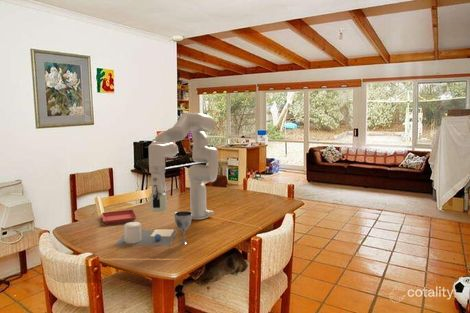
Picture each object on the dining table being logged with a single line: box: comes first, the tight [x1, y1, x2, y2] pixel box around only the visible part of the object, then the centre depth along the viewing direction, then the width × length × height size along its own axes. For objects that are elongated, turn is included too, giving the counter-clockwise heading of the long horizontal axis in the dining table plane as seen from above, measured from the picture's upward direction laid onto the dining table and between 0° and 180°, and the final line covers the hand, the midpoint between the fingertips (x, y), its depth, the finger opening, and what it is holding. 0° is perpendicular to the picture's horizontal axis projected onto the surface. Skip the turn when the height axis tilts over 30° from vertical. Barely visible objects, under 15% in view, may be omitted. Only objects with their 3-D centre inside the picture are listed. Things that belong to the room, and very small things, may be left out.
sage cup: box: [149, 191, 168, 213], centre depth 160 cm, size 8×8×8 cm
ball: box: [154, 234, 161, 241], centre depth 159 cm, size 3×3×3 cm
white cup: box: [123, 221, 142, 243], centre depth 159 cm, size 8×8×8 cm
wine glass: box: [174, 210, 193, 245], centre depth 156 cm, size 8×8×15 cm
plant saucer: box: [101, 209, 137, 225], centre depth 193 cm, size 18×18×3 cm
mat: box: [114, 228, 178, 246], centre depth 164 cm, size 26×21×1 cm
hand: (158, 204), depth 160 cm, fingers closed on sage cup, 7 cm apart
